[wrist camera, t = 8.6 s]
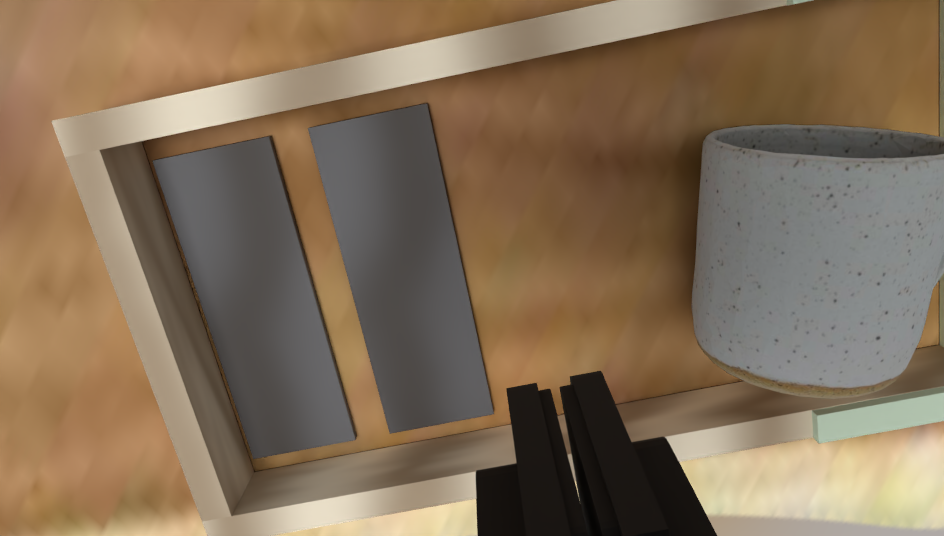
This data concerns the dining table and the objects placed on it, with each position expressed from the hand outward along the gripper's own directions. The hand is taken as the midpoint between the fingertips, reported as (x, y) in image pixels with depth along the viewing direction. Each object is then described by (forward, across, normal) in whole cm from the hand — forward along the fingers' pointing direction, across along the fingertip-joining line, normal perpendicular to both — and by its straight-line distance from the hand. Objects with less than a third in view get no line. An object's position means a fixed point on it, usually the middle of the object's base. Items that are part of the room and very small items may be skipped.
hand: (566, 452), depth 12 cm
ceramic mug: (+16, -11, +2) cm, 19 cm away
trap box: (+15, -2, +1) cm, 15 cm away
